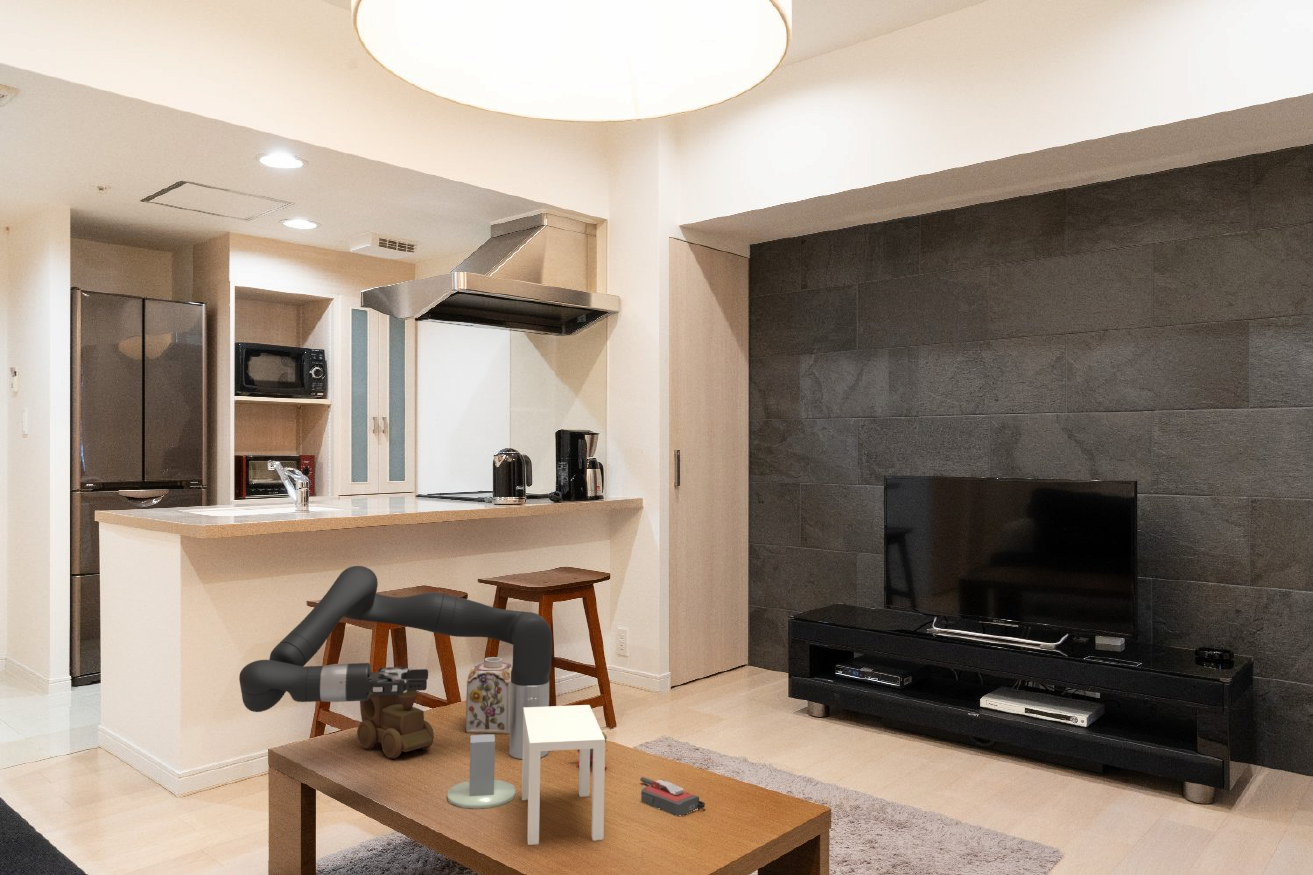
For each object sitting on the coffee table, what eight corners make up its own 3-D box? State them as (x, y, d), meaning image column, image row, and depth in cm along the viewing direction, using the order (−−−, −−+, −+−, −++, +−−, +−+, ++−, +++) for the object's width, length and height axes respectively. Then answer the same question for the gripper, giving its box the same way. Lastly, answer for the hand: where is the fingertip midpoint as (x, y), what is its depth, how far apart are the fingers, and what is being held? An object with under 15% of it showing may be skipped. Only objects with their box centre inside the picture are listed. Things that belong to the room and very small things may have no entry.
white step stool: (527, 844, 166) (529, 742, 166) (521, 796, 189) (523, 707, 190) (603, 839, 168) (605, 739, 169) (588, 792, 192) (589, 704, 192)
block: (469, 787, 191) (470, 735, 191) (493, 786, 192) (494, 734, 192) (469, 796, 186) (470, 742, 187) (493, 794, 187) (494, 741, 188)
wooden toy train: (350, 745, 221) (351, 677, 221) (390, 734, 230) (391, 669, 230) (397, 764, 208) (399, 691, 209) (438, 752, 217) (439, 682, 217)
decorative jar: (475, 720, 244) (476, 653, 244) (518, 721, 243) (519, 654, 244) (464, 733, 232) (465, 663, 232) (509, 734, 231) (510, 664, 232)
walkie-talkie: (712, 809, 185) (644, 783, 199) (712, 787, 185) (644, 763, 199) (683, 820, 179) (615, 793, 193) (683, 798, 179) (615, 772, 193)
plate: (477, 779, 199) (477, 774, 199) (528, 791, 192) (528, 786, 192) (433, 800, 186) (433, 795, 187) (486, 813, 180) (486, 808, 180)
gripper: (342, 672, 178) (426, 668, 181) (350, 656, 192) (428, 653, 195) (341, 710, 178) (426, 706, 181) (349, 691, 192) (428, 688, 195)
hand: (427, 679), depth 188 cm, fingers open, 8 cm apart
